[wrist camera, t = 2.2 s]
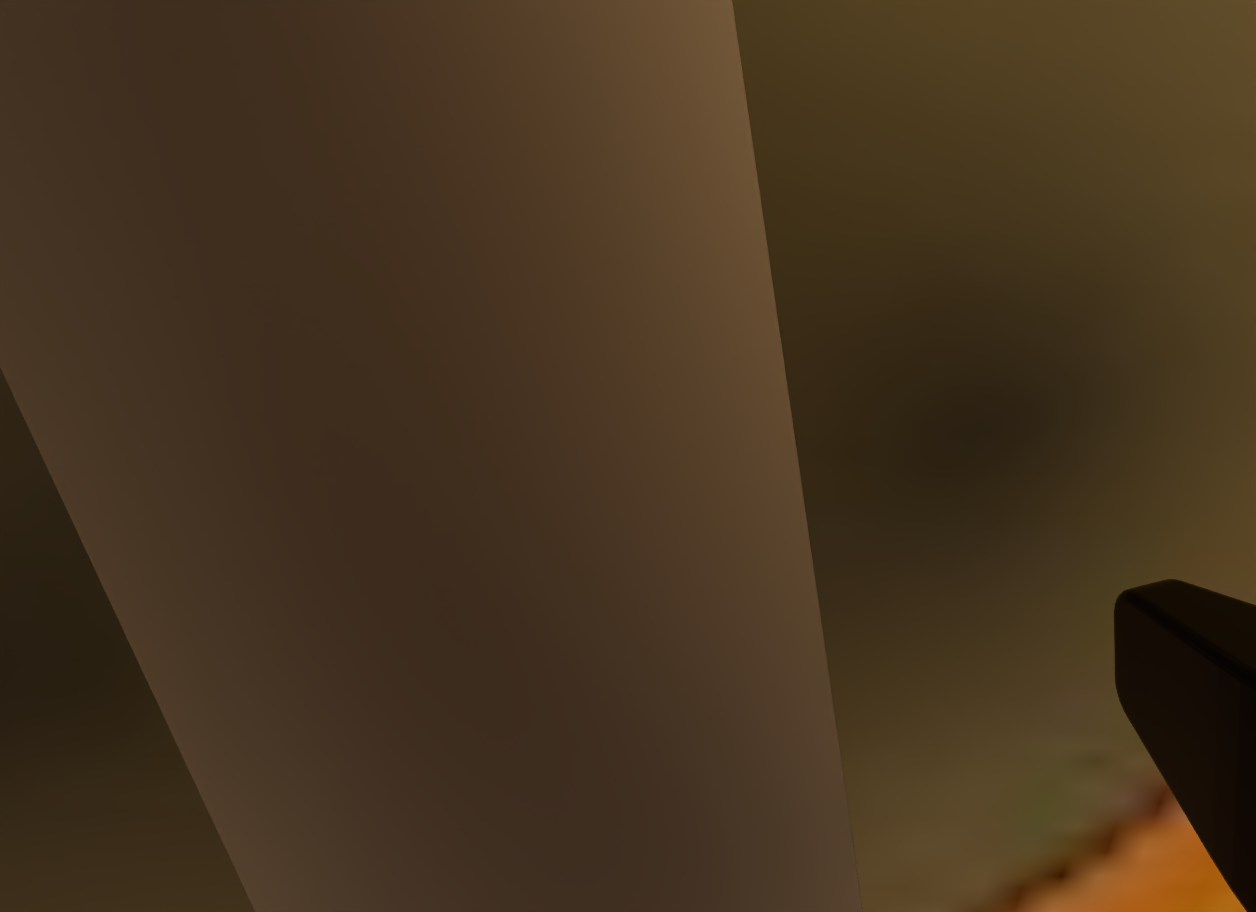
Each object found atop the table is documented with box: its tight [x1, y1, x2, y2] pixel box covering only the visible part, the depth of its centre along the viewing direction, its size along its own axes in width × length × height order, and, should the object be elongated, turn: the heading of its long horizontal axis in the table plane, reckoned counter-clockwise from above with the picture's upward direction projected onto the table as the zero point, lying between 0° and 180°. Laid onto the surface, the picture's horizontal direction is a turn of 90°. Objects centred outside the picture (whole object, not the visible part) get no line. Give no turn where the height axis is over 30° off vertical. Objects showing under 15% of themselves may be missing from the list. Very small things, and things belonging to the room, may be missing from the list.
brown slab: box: [0, 0, 863, 912], centre depth 10 cm, size 4×12×6 cm, turn 11°
